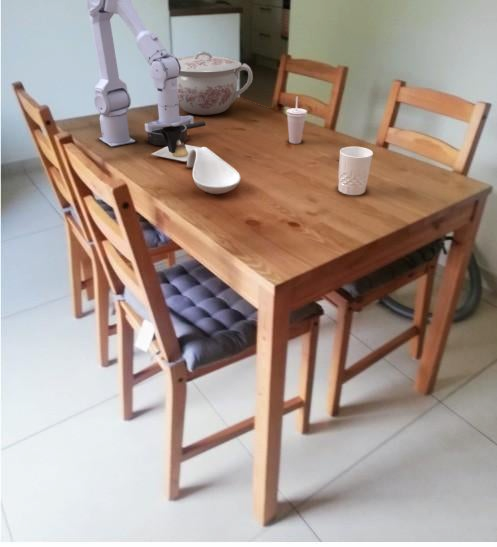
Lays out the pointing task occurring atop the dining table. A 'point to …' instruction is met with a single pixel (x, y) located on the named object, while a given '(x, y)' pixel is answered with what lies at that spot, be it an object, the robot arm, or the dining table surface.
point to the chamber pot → (209, 83)
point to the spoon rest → (212, 171)
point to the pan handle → (195, 125)
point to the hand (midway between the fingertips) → (172, 152)
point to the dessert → (176, 152)
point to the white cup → (354, 170)
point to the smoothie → (296, 123)
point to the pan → (158, 139)
